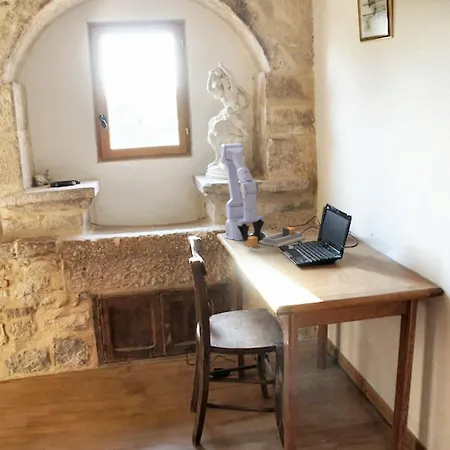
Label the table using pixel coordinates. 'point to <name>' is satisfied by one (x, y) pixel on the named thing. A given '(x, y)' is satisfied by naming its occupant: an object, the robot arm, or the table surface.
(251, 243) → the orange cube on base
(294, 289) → the table surface
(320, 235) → the dark thin upright piece
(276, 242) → the grey frame base
